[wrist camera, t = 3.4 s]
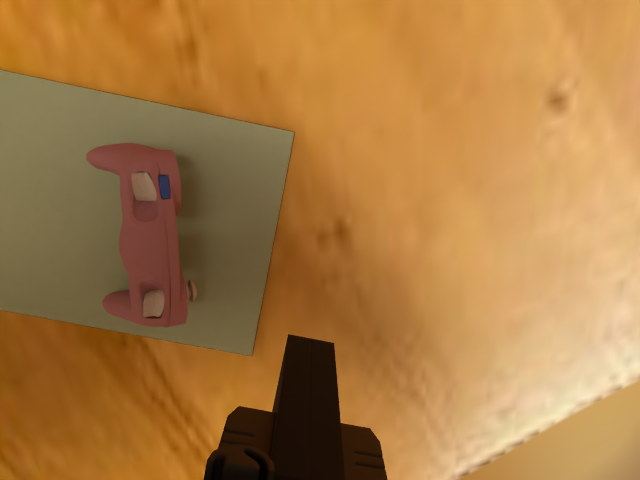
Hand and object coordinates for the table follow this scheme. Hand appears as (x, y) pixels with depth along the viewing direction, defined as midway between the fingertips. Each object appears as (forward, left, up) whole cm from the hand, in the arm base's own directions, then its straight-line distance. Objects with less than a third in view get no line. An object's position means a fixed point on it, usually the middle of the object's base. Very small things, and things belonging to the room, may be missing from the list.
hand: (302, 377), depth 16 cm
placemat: (-19, 0, -15) cm, 24 cm away
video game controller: (-9, 0, -14) cm, 17 cm away
